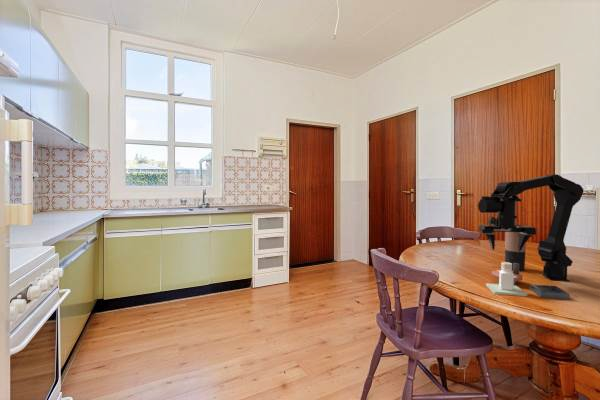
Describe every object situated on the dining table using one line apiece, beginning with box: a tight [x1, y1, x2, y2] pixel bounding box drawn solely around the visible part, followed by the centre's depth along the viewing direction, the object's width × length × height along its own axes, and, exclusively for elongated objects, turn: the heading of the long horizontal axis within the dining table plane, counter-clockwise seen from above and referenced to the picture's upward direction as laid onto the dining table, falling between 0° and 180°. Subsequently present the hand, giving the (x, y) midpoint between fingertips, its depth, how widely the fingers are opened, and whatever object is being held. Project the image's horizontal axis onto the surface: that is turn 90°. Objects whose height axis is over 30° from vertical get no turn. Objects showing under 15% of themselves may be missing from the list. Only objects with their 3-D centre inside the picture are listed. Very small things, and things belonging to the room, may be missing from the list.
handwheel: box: [491, 263, 523, 282], centre depth 116 cm, size 10×10×5 cm
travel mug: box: [504, 224, 527, 272], centre depth 133 cm, size 8×8×20 cm
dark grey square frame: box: [529, 283, 570, 300], centre depth 103 cm, size 8×8×2 cm
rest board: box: [485, 283, 528, 297], centre depth 107 cm, size 10×9×1 cm
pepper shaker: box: [498, 261, 514, 290], centre depth 106 cm, size 4×4×10 cm
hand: (506, 250), depth 119 cm, fingers open, 9 cm apart
